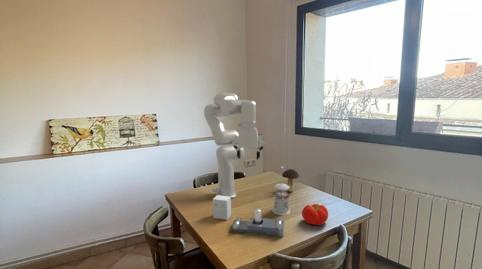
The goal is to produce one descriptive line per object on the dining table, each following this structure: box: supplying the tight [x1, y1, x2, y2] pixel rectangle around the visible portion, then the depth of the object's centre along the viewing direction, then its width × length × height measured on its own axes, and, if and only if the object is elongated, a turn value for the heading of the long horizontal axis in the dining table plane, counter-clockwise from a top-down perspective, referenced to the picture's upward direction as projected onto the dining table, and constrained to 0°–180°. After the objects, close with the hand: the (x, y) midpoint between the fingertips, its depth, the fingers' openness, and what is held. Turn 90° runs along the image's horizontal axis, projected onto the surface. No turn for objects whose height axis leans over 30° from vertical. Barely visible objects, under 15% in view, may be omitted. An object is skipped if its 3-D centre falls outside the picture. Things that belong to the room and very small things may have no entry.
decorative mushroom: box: [281, 168, 300, 193], centre depth 172 cm, size 11×11×15 cm
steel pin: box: [254, 208, 262, 225], centre depth 126 cm, size 3×3×10 cm
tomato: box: [301, 203, 329, 226], centre depth 132 cm, size 13×12×8 cm
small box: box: [212, 195, 232, 221], centre depth 139 cm, size 8×6×10 cm
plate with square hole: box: [230, 216, 285, 238], centre depth 126 cm, size 24×9×5 cm, turn 79°
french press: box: [271, 166, 291, 216], centre depth 145 cm, size 10×12×25 cm
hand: (248, 158), depth 138 cm, fingers open, 9 cm apart
